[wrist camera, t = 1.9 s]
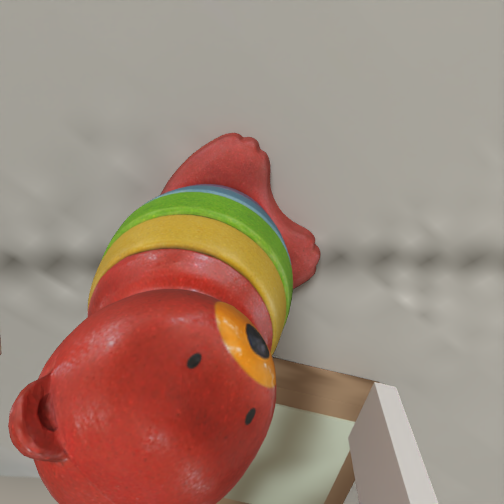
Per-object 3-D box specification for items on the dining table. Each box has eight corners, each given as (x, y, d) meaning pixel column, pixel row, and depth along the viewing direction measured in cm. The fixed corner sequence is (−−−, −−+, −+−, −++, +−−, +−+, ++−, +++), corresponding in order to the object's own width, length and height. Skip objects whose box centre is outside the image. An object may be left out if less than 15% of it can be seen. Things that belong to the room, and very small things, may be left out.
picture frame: (176, 462, 34) (166, 496, 31) (201, 340, 29) (192, 368, 26) (324, 496, 34) (328, 533, 32) (379, 382, 29) (390, 414, 26)
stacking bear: (330, 263, 25) (417, 579, 9) (207, 323, 28) (101, 651, 12) (247, 118, 22) (145, 199, 6) (116, 201, 25) (-208, 420, 8)
